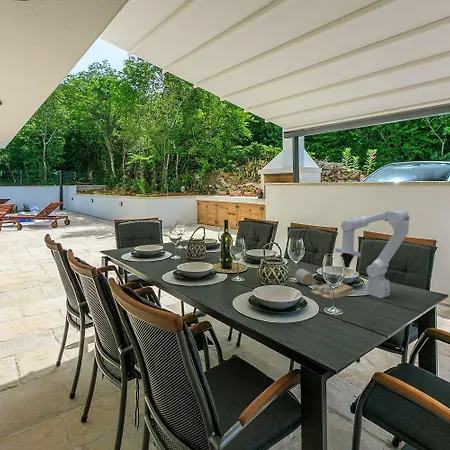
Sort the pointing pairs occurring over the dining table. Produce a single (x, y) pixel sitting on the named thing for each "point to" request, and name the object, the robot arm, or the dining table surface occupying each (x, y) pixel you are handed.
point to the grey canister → (304, 277)
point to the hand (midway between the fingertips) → (346, 267)
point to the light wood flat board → (329, 294)
